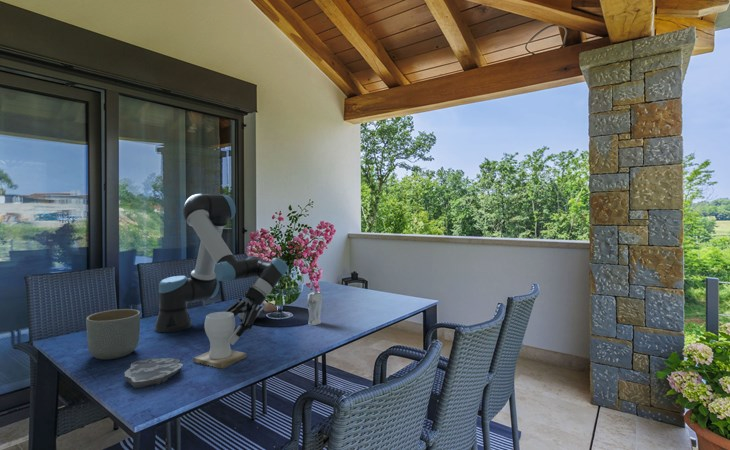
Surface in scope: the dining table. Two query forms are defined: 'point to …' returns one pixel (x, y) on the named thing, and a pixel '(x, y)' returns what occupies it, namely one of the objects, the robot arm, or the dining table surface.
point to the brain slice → (152, 371)
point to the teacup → (257, 314)
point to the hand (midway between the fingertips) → (221, 338)
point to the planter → (113, 333)
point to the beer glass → (314, 307)
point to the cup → (219, 333)
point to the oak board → (222, 362)
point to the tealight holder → (269, 307)
